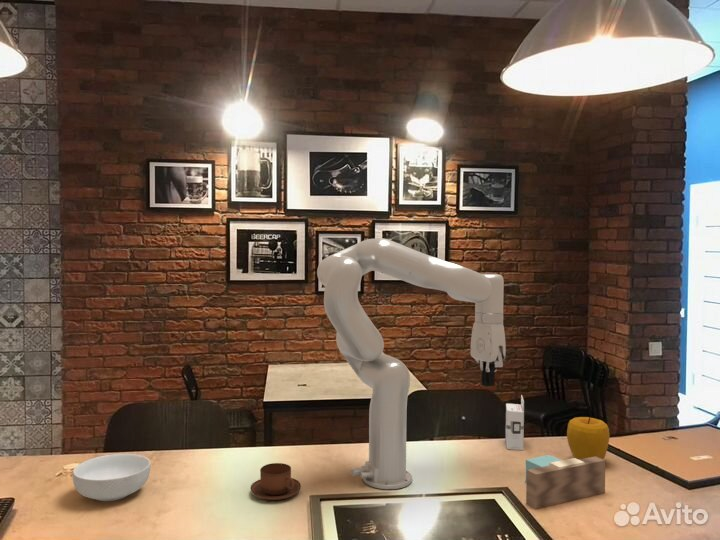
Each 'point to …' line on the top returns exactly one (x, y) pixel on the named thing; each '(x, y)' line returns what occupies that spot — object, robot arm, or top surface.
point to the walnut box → (565, 481)
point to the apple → (588, 437)
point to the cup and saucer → (275, 482)
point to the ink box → (515, 425)
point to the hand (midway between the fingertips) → (488, 385)
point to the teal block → (539, 462)
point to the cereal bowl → (111, 476)
